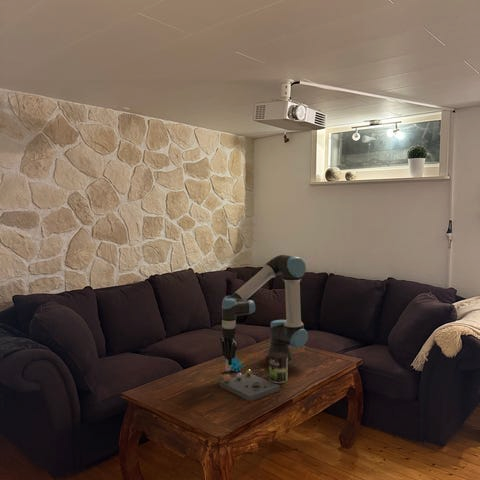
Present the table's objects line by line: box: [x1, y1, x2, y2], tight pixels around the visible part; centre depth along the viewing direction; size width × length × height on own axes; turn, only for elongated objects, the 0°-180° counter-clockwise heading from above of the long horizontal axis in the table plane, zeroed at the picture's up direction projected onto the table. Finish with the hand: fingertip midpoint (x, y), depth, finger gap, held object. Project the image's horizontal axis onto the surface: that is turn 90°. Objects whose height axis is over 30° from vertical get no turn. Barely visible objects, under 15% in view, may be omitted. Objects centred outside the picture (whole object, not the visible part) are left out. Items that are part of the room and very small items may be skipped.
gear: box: [231, 355, 244, 373], centre depth 257 cm, size 11×6×10 cm
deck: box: [219, 373, 281, 402], centre depth 229 cm, size 24×20×2 cm
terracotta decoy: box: [222, 373, 232, 382], centre depth 231 cm, size 4×4×4 cm
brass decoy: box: [245, 368, 253, 375], centre depth 241 cm, size 3×3×3 cm
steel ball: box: [235, 372, 243, 379], centre depth 235 cm, size 3×3×3 cm
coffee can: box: [268, 351, 289, 384], centre depth 241 cm, size 10×10×14 cm
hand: (228, 370), depth 242 cm, fingers closed
